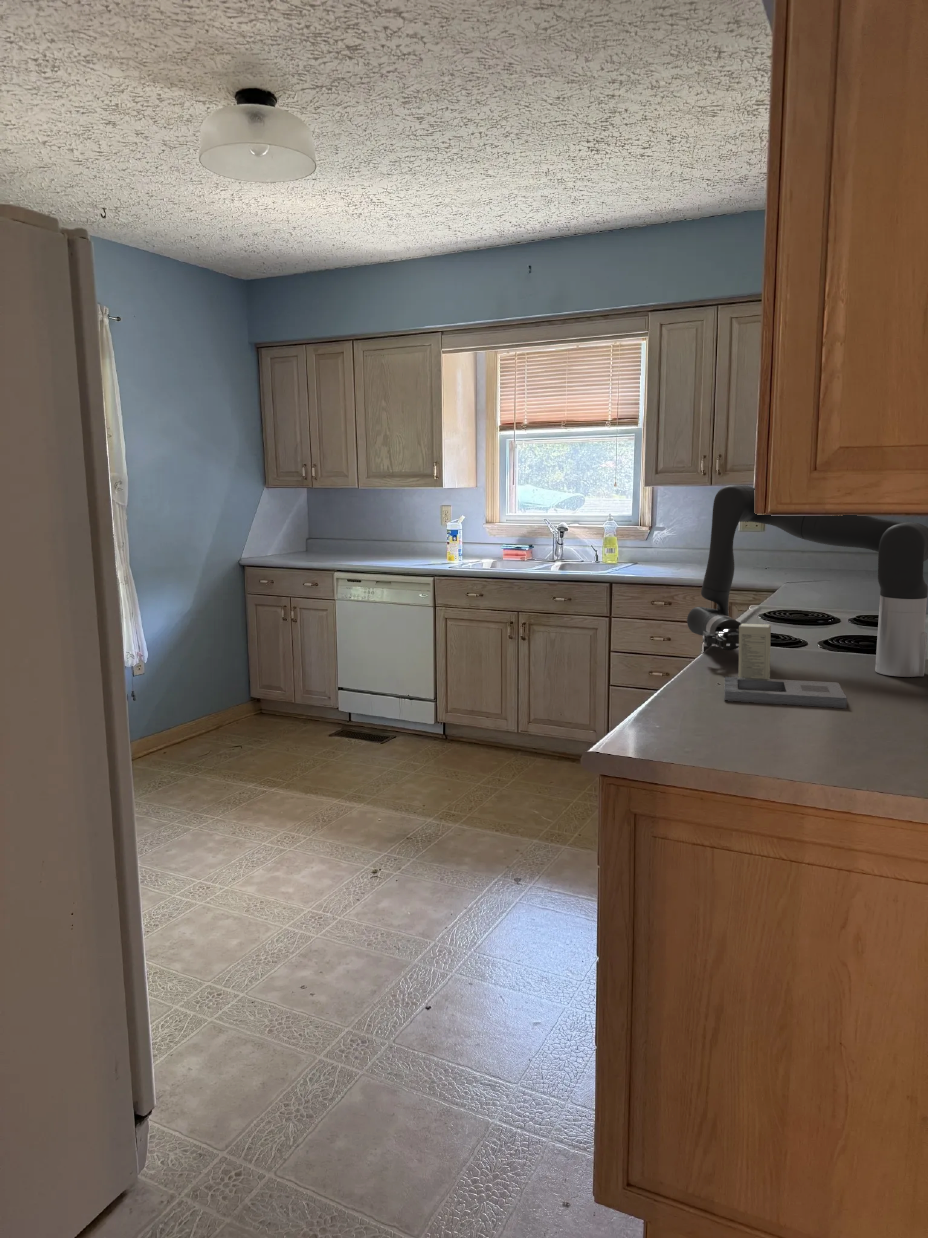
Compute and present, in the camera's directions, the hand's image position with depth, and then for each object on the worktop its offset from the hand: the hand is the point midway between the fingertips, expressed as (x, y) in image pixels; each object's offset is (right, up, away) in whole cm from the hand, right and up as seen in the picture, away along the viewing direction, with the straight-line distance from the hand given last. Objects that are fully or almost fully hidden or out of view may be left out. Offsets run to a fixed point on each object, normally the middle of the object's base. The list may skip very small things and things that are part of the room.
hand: (744, 644), depth 189 cm
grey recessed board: (+1, -10, -21) cm, 23 cm away
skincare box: (0, -8, -7) cm, 10 cm away
